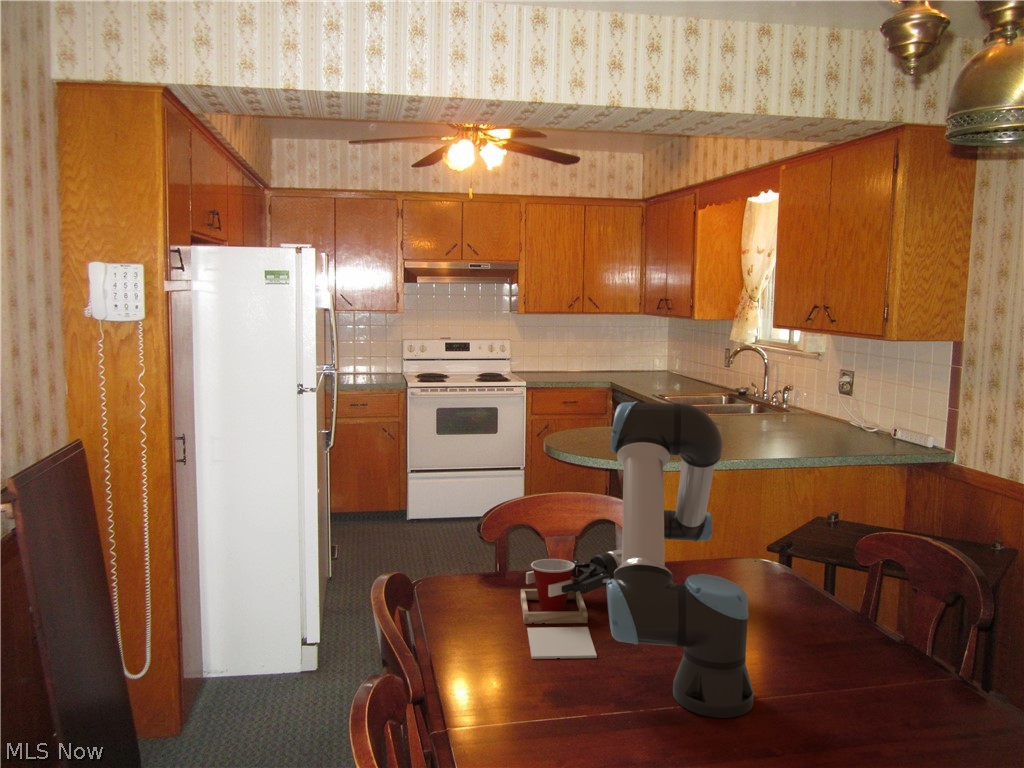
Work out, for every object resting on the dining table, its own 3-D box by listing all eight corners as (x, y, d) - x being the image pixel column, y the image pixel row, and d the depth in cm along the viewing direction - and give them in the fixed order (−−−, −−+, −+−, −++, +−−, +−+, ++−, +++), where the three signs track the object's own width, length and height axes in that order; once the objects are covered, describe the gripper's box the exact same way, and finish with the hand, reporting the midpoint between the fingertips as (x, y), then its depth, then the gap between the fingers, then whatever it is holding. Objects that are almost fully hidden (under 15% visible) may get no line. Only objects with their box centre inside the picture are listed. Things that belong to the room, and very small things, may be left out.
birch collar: (587, 622, 185) (587, 612, 184) (524, 623, 184) (524, 613, 184) (579, 597, 200) (579, 588, 199) (520, 598, 199) (520, 589, 199)
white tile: (596, 657, 167) (596, 655, 167) (531, 658, 167) (531, 656, 167) (587, 629, 181) (587, 626, 181) (527, 630, 181) (527, 627, 181)
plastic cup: (575, 602, 197) (575, 556, 195) (574, 620, 186) (574, 571, 185) (532, 600, 198) (532, 554, 196) (529, 618, 187) (528, 570, 186)
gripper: (638, 595, 192) (564, 615, 180) (583, 568, 210) (513, 585, 198) (638, 565, 191) (564, 584, 179) (584, 541, 209) (513, 556, 197)
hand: (537, 584), depth 188 cm, fingers closed on plastic cup, 9 cm apart
